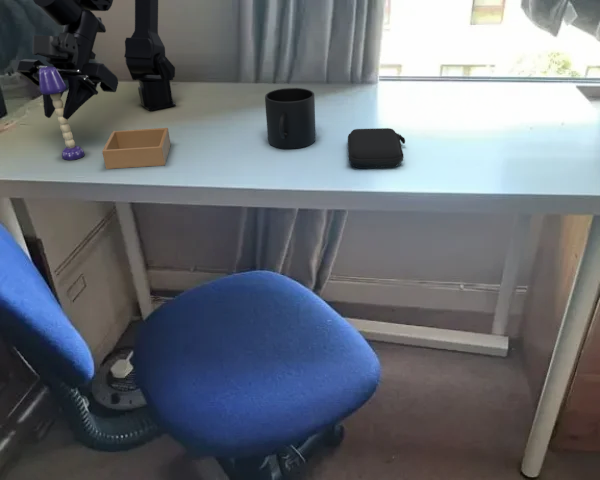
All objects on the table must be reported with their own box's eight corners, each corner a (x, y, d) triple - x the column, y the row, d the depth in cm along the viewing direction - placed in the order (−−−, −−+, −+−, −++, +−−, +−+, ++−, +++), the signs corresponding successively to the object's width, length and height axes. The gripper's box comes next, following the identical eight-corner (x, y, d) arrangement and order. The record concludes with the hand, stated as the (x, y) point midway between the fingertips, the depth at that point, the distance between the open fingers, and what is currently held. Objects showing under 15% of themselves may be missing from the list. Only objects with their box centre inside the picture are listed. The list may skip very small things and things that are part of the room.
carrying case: (409, 170, 109) (402, 140, 121) (410, 153, 107) (403, 125, 119) (348, 171, 110) (347, 141, 122) (348, 154, 108) (347, 126, 120)
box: (116, 148, 124) (112, 131, 122) (170, 144, 124) (168, 127, 122) (106, 169, 115) (102, 151, 113) (165, 165, 115) (161, 147, 113)
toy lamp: (69, 162, 118) (45, 72, 109) (53, 158, 121) (28, 69, 111) (89, 154, 122) (67, 65, 112) (73, 150, 124) (50, 63, 114)
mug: (258, 153, 119) (254, 105, 113) (275, 131, 128) (272, 87, 123) (306, 155, 117) (304, 107, 111) (320, 133, 126) (319, 88, 121)
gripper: (7, 12, 113) (-17, 92, 111) (94, 15, 107) (70, 99, 105) (48, 48, 123) (26, 121, 121) (128, 52, 118) (107, 129, 115)
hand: (56, 117), depth 115 cm, fingers closed on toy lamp, 4 cm apart
